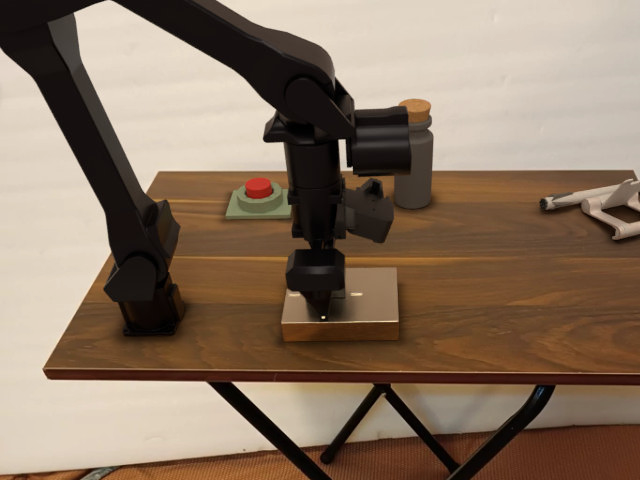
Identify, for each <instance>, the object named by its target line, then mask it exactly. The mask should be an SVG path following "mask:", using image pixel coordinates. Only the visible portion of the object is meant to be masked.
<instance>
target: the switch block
mask: <svg viewBox="0 0 640 480" xmlns="http://www.w3.org/2000/svg"><path fill="white" fill-rule="evenodd" d="M271 186H272V194H271V195H270V196H269V197H266V198H263V199H252V198H248V197H247V194H246V188H245V184H243V185H242V186H240V187H239V188H238V189H233V191H232V194H231V197H230V200H229V203H228V206H227V209H226V213H225V216H224V217H225V220H277V219H279V220H281V219H291V217H292V208H291V205H288V201H287V194H288V188H282V187H281V186H280V185H279V183H277V182H274V181H271Z"/></svg>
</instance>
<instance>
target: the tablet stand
mask: <svg viewBox="0 0 640 480" xmlns="http://www.w3.org/2000/svg"><path fill="white" fill-rule="evenodd" d="M637 181H638V182H635V181H634V178H628V179H625V180H624V181H622V182H621V183H620V184H621V185H620V186H619V187H618V188H617V189H616V190H615V191H614V192H613V193H609V194H604V195H600V196H595V197H591V198H586V199H583V200H582V203H580V207H581V210H582V212H583V213H584V214H587V215H588V216H591V217H593V218H595V219H597V220H599V221H601V222H603V223H605V224H607V225H609V226H612V227H613V228H614V229H615V235H614V236H612V237H611V238H612V240H621V239H626V238H630V237H634V236H638V235H640V220H639V221H634V222H630V223H627V222H626V221H623V220H621V219H620V218H616V217H615V216H612V215H610V214H608V213H606V212H604V211H603V210H607V209H611V208H615V207H619V206H625V207H628V208H630V209H633V210H634V211H637V212H638V213H640V201H639V192H638V191H639V190H640V180H637ZM632 182H634V183H632Z"/></svg>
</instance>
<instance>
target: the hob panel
mask: <svg viewBox="0 0 640 480" xmlns="http://www.w3.org/2000/svg"><path fill="white" fill-rule="evenodd" d="M345 285H346V294H345V297H342V298H331V301H330V307H329V313H328V316H322V317H321V316H319V315H318V314H317V313H316V312H315V310H314V309H313V308H312V307H311V305H310V304H309V303H308V302H307V301H306V299H305V298H304V297H303V296H302V295H301V294H300V293H299V292H292V291H290V290H289V289H287V288H286V292H285V298H284V304H283V309H282V315H281V320H280V321H281V322H280V324H281V325H280V326H281V332H282V337H283V342H346V341H347V342H349V341H350V342H351V341H355V342H356V341H399V339H400V338H399V337H400V335H399V333H400V326H399V325H400V324H399V323H400V319H399V294H398V289H399V288H398V268H397V267H396V266H395V267H394V266H393V267H392V266H391V267H390V266H387V267H346V277H345Z"/></svg>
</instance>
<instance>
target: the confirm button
mask: <svg viewBox="0 0 640 480" xmlns="http://www.w3.org/2000/svg"><path fill="white" fill-rule="evenodd" d="M271 182H272V181H271V180H270V179H269V178H267V177H253V178H251V179H248V180H247V181H246V182H245V184H244V185H245V188H246V194H247V197H248V198H252V199H263V198H266V197H269V196H270V195H271V194H272V186H271Z"/></svg>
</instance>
